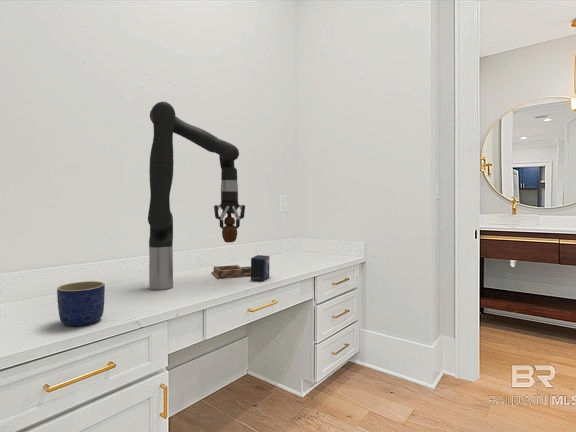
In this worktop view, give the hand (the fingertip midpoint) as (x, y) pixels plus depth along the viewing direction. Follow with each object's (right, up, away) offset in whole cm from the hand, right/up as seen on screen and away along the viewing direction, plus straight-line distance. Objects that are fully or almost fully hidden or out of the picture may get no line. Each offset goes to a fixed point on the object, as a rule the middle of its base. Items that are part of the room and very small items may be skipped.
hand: (229, 228), depth 167 cm
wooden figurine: (0, -6, 0) cm, 6 cm away
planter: (-35, -26, -56) cm, 71 cm away
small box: (+13, -24, +5) cm, 28 cm away
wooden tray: (0, -23, +15) cm, 28 cm away
